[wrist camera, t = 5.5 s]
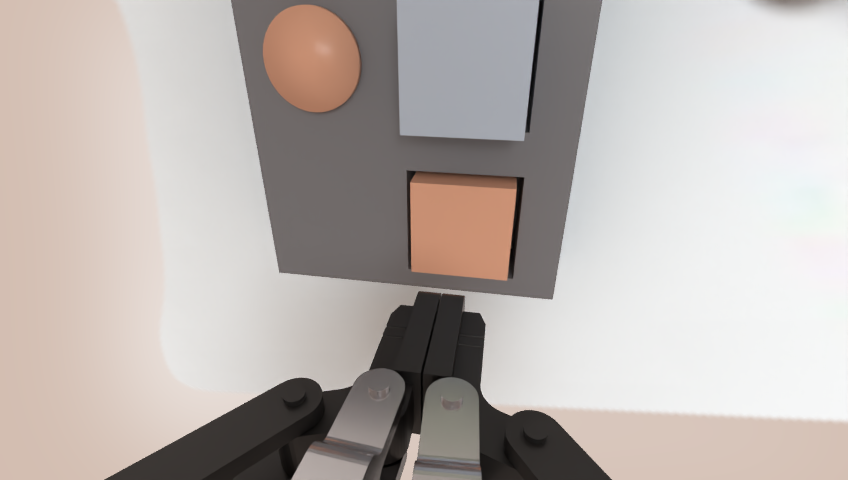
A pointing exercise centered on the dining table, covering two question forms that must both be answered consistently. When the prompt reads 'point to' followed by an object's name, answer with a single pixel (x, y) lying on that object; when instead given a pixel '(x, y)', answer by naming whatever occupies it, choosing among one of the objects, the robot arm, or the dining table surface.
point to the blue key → (465, 67)
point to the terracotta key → (462, 224)
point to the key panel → (398, 141)
